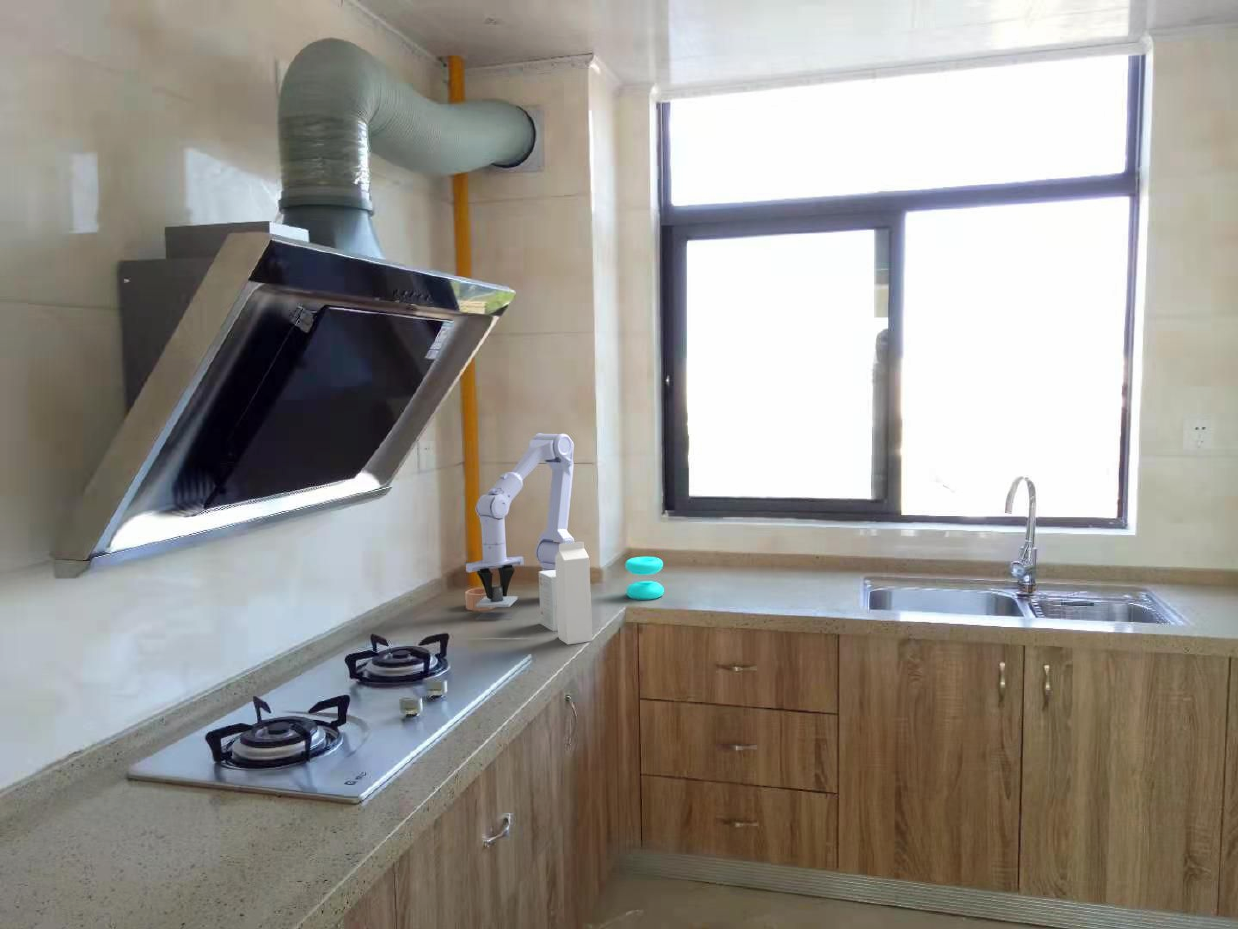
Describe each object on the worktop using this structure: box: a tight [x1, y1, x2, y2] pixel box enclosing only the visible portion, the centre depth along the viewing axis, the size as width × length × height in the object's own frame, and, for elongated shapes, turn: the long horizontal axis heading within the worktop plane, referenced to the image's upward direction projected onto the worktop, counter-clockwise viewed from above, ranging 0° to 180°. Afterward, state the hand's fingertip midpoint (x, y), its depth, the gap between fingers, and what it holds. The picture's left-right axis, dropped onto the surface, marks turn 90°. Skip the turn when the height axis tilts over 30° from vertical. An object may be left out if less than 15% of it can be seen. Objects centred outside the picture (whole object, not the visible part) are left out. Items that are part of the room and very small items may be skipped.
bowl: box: [464, 587, 497, 612], centre depth 245 cm, size 8×8×4 cm
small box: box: [538, 570, 558, 632], centre depth 223 cm, size 8×6×13 cm
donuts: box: [624, 556, 665, 601], centre depth 251 cm, size 10×10×10 cm
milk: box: [555, 541, 593, 645], centre depth 211 cm, size 6×6×22 cm
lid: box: [476, 584, 519, 608], centre depth 235 cm, size 8×8×4 cm
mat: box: [474, 610, 520, 621], centre depth 235 cm, size 9×9×1 cm
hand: (496, 597), depth 235 cm, fingers closed on lid, 3 cm apart
